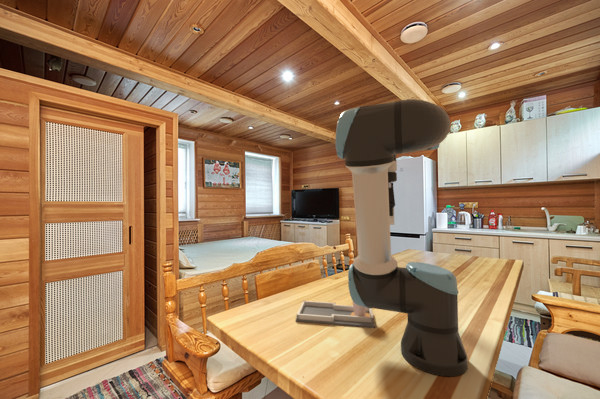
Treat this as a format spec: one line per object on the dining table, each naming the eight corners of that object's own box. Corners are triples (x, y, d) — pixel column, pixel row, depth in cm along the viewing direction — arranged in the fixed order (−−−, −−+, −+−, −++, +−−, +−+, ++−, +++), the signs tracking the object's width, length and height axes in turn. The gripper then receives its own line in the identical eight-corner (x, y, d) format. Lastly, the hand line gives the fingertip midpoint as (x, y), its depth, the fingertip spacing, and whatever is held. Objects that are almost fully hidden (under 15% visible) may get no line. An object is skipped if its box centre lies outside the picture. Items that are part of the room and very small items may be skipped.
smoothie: (367, 311, 90) (367, 273, 91) (370, 320, 84) (370, 278, 84) (349, 310, 91) (349, 272, 91) (351, 319, 85) (351, 277, 85)
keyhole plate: (375, 327, 80) (374, 321, 80) (295, 321, 85) (295, 315, 85) (371, 310, 93) (371, 304, 93) (302, 305, 98) (302, 300, 98)
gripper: (374, 176, 117) (375, 221, 116) (381, 168, 93) (382, 225, 92) (391, 175, 116) (392, 221, 115) (402, 167, 91) (403, 225, 91)
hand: (387, 223), depth 104 cm, fingers open, 13 cm apart
